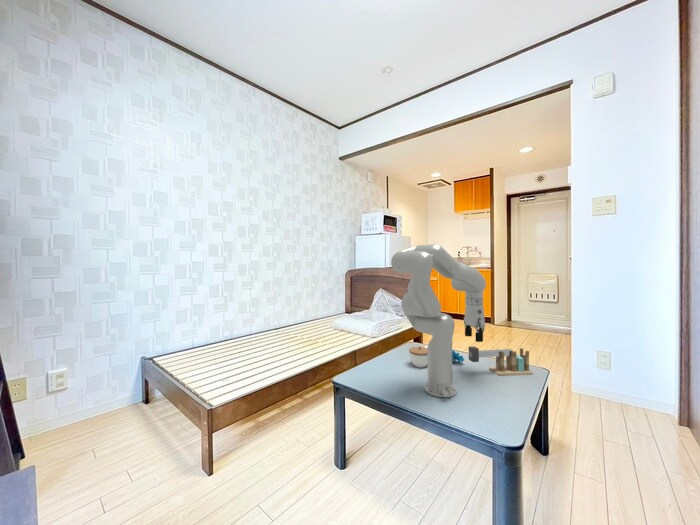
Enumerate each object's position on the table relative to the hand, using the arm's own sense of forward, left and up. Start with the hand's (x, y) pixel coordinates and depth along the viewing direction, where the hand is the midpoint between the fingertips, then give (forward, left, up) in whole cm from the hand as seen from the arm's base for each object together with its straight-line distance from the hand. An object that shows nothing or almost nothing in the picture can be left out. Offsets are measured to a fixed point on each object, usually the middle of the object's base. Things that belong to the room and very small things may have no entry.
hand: (473, 338), depth 132 cm
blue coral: (+15, +3, -17) cm, 23 cm away
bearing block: (0, -18, -16) cm, 24 cm away
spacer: (+1, -22, -12) cm, 25 cm away
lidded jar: (+13, +21, -17) cm, 30 cm away
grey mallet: (0, -9, -10) cm, 13 cm away
